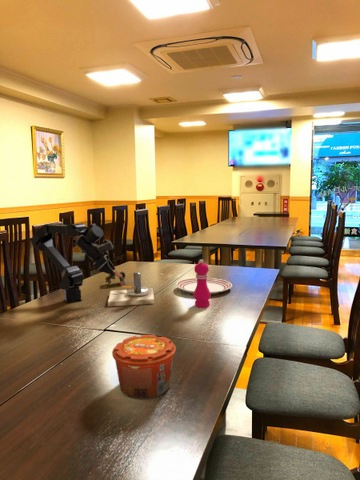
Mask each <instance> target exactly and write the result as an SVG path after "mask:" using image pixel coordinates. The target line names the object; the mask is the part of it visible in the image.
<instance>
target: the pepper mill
mask: <svg viewBox="0 0 360 480" xmlns="http://www.w3.org/2000/svg"><path fill="white" fill-rule="evenodd" d="M198 261H199V263H196V265H194V273H195V278H197V286H196V289H195V291H194V294H193V299H194V300H195V301H194V306H195V307H197V308H200V309H202V308H203V309H204V308H207V307H210V305H211V304H210V299H211V297H212V296H211V295H212V294H210V291H209V289H208V286H207V281H206V280H207V278H209V276H208V272H209V270H210V268H209V265H208V264H207V263H205V262H204V259H199V260H198Z"/></svg>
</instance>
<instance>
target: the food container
mask: <svg viewBox="0 0 360 480" xmlns="http://www.w3.org/2000/svg"><path fill="white" fill-rule="evenodd" d="M176 350H177V347H176V345H175V344H174V342H172V341H171V339H170V338H168V337H165V336H161V337H158V336H157V335H155V334H141V335H140V336H137V335H135V336H130V337H127V338H124V339H123V340H122V341H121V342H117V344H116V345H115V346H114V348H113V349H112V353H111V355H112V358H113V359H114V361H115V367H116V371H117V378H118V383H119V388H120V391H121V393H123V394H124V395H125V396H127V397H130V398H133V399H141V400H147V399H148V400H149V399H154V398H157V397H160V396H161V395H163V394H165V393H166V392H167V391H168V390H170V388H171V385H172V384H171V383H172V373H173V363H174V356H175V355H176Z"/></svg>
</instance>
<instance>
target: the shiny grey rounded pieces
mask: <svg viewBox="0 0 360 480" xmlns="http://www.w3.org/2000/svg"><path fill="white" fill-rule="evenodd" d="M132 275H133V286H130V285H123V286H121V288H126V290H127V295H128V296H132V297H140V296H145V295H148V294H149V289H150V288H149V287H148V286H143V283H142V276H141V275H142V274H141V272H139V271H135V272H133V273H132Z"/></svg>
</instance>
